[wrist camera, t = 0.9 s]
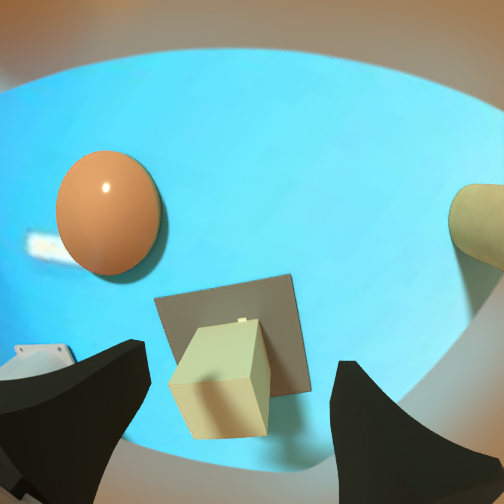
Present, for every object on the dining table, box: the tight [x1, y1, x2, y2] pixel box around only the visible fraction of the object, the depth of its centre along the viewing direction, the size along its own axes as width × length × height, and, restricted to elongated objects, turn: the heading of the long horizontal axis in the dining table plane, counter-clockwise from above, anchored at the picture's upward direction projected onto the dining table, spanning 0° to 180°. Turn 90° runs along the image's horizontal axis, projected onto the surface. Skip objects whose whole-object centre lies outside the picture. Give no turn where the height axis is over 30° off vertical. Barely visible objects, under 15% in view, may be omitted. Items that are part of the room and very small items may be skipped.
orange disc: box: [56, 151, 162, 275], centre depth 20 cm, size 9×9×1 cm
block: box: [168, 319, 271, 439], centre depth 18 cm, size 4×4×7 cm
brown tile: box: [154, 274, 311, 397], centre depth 22 cm, size 10×10×1 cm
